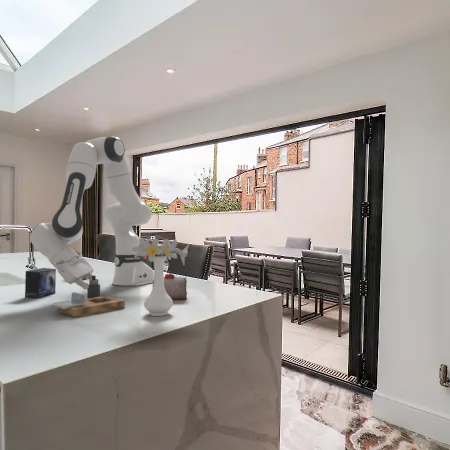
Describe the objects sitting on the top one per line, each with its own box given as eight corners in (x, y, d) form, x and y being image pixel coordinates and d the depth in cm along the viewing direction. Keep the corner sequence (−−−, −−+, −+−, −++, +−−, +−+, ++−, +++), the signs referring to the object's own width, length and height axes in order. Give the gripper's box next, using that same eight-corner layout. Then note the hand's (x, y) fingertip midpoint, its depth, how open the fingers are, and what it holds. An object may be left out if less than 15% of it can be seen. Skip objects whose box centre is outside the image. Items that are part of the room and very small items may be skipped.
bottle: (96, 299, 141) (96, 274, 140) (102, 300, 137) (102, 275, 137) (85, 300, 137) (85, 275, 137) (91, 302, 134) (91, 277, 134)
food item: (151, 301, 138) (151, 275, 138) (152, 296, 146) (153, 272, 146) (187, 300, 140) (187, 275, 140) (186, 296, 148) (187, 272, 148)
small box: (38, 298, 140) (38, 271, 140) (24, 297, 142) (24, 270, 141) (56, 293, 151) (56, 268, 151) (42, 292, 152) (42, 267, 152)
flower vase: (192, 316, 116) (193, 238, 116) (133, 321, 110) (134, 238, 110) (183, 307, 129) (184, 236, 128) (130, 310, 123) (130, 236, 122)
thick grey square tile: (74, 301, 123) (74, 292, 123) (84, 305, 118) (84, 295, 118) (53, 305, 118) (53, 295, 118) (62, 309, 113) (62, 298, 113)
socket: (106, 302, 135) (106, 295, 135) (124, 307, 127) (124, 300, 127) (57, 310, 121) (57, 303, 121) (74, 317, 113) (74, 309, 113)
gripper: (60, 256, 126) (88, 284, 127) (81, 251, 147) (105, 276, 147) (47, 269, 126) (75, 297, 127) (69, 262, 147) (94, 287, 147)
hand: (91, 285), depth 137 cm, fingers open, 8 cm apart
